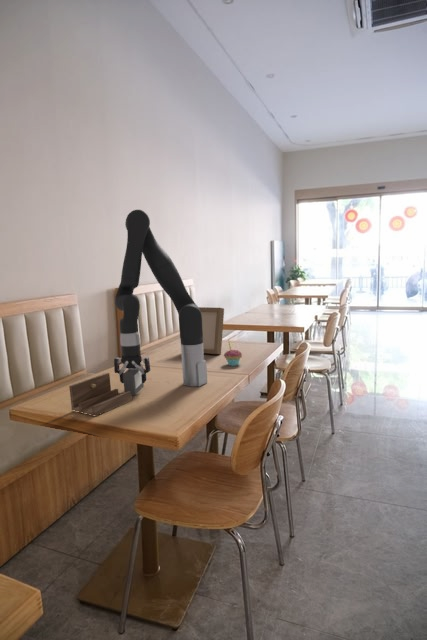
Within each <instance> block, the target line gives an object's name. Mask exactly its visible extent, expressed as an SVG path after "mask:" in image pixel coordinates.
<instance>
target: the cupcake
mask: <svg viewBox="0 0 427 640" xmlns="http://www.w3.org/2000/svg"><path fill="white" fill-rule="evenodd" d="M228 346H229V350H227V351H226V352H225V353H224V355H223V357H224V359H226V362H227V364H228V366H232V367H234V366H235V367H236V366H239V364H240V359H241V358H242V357H243V354H242V353H243V352H241V351H240V350H236V349H232V346H231V342H230V340H228Z"/></svg>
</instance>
